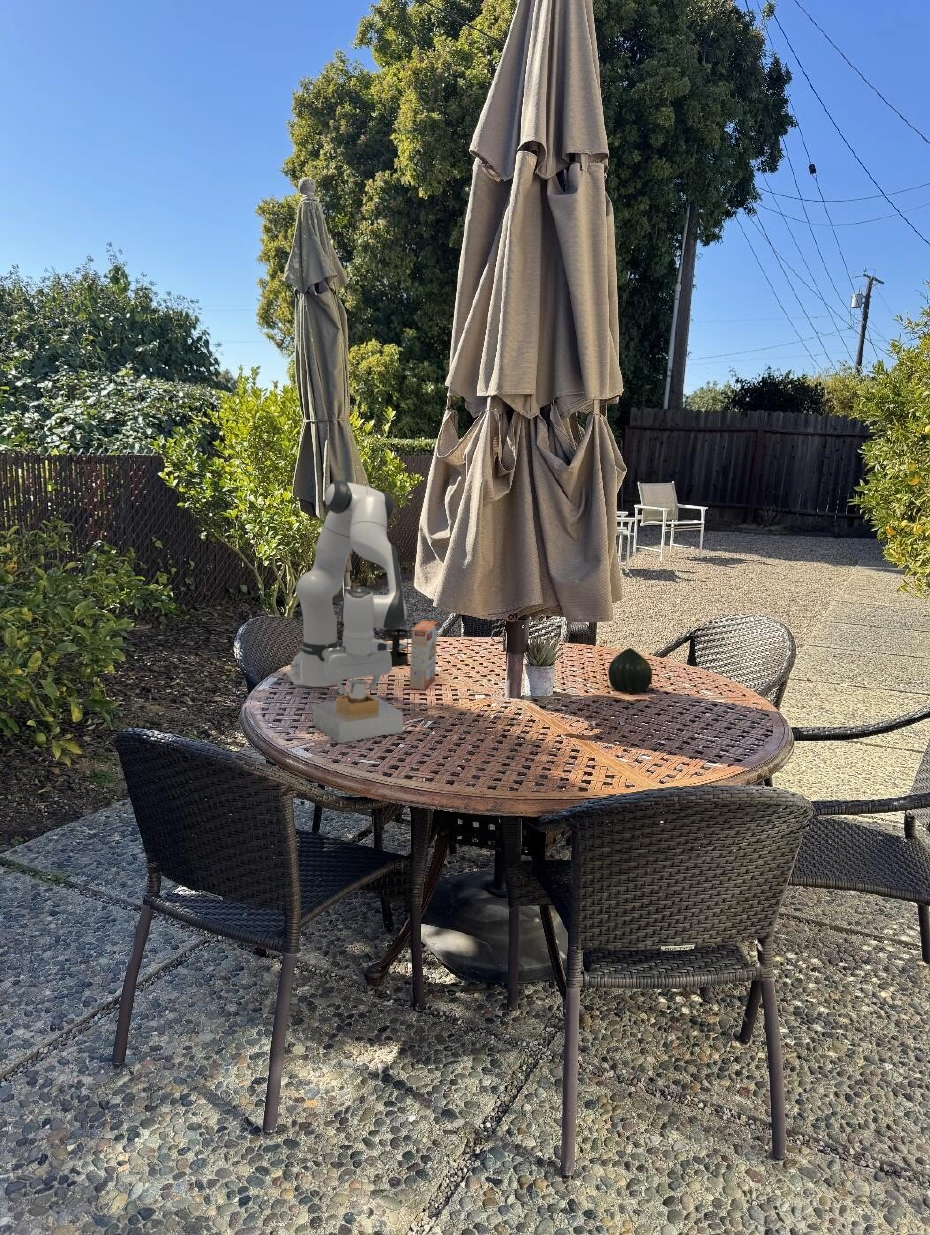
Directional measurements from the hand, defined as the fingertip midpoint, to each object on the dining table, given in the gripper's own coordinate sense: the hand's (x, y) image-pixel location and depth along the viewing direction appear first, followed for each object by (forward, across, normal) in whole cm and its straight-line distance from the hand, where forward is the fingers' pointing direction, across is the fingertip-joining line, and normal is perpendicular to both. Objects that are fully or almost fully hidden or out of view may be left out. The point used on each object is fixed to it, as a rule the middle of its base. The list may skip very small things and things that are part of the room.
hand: (357, 691), depth 249 cm
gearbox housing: (+11, 0, 0) cm, 11 cm away
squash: (+11, +100, -7) cm, 101 cm away
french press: (+11, +43, +57) cm, 72 cm away
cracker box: (+11, +39, +29) cm, 50 cm away
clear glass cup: (+5, 0, 0) cm, 5 cm away
